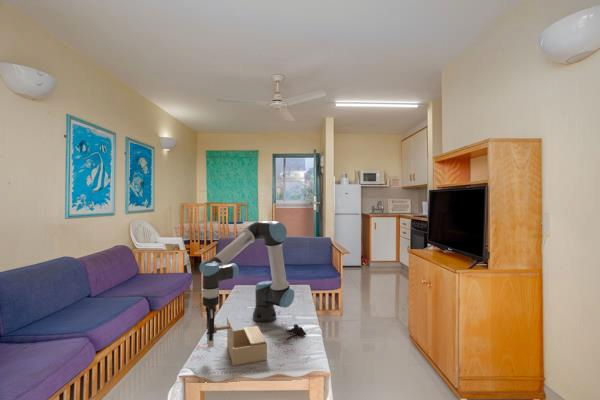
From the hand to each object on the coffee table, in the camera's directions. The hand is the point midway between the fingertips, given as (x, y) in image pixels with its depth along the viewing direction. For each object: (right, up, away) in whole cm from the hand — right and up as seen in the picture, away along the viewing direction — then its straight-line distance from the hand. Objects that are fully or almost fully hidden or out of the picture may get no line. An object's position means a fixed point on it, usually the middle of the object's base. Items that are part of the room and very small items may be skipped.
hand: (210, 344), depth 148 cm
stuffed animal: (+40, -8, +28) cm, 50 cm away
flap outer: (+9, +5, +3) cm, 11 cm away
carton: (+16, -7, +6) cm, 19 cm away
